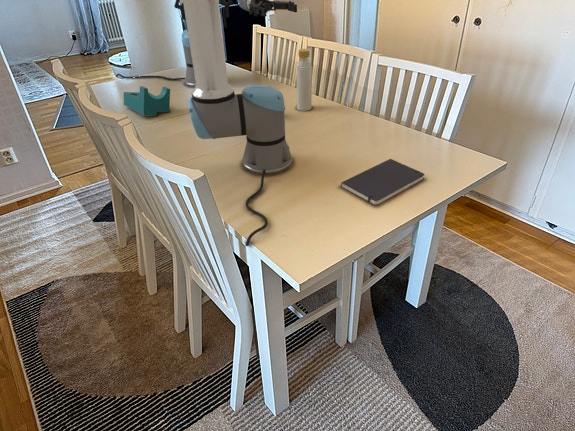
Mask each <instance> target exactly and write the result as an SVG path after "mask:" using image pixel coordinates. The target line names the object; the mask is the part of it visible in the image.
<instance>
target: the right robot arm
mask: <svg viewBox="0 0 575 431" xmlns="http://www.w3.org/2000/svg"><path fill="white" fill-rule="evenodd" d="M220 3H221V4H222V5H223V6H222V13H223V25H224V29H228V24H227V23H228V22H227V18H230V10H229V9H230V7H231V6H233V5H234V1H233V0H227V1H226V0H183V3H182V4H181V3H180V0H175V2H174V8H175V9H178V10H179V11H180V17H181V20H182V21H185V27H186V29H187V31H188V36H189V43H190V49H191V56H192V62H193V69H194V75H195V82H196V87H193V89H192V90H191V97H189V98H187V107H188V111H189V116H190V120H191V124H192V127H193V130H194V132H195V134H196V135H197V137H198V138H199V139H201V140H211V139H212V140H216V139H223V138H235V137H242V136H246V137H245V138H246V143H245V146H244V151H243V155H242V166H243V168H244V170H246V171H247V172H249V173H252V174H254V175H255V174H256V175H261V179H260V187H259V188H258V190H257V191H256V192H254V193H252V194H251V195H250V196H249V197H248V198H247V199H246V201H245V207H246V209H248V211H249V212H251V213H253V214H254V215H257V216H259V217H260V218H262V219H263V221H264V224H263V225H262V226H261V227H258V228H257V229H255V230H253V231H252V232H250V234H249V235H248V236H247V239H246V242H245V246H246V247H248V246H250V242H251V240H252V238H253V237H254V236H255V235H256V234H258V233H259V232H262V231H263V230H265V229H266V228H267V226H268V224H269V222H268V219H267V217H266V216H265V215H264V214H262V213H261V212H258V211H256V210H254V209H253V208H252V207H250V205H249V203H250V202H251V200H252V199H254V198H255V197H256V196H257V195H259V194H260V193H261V192H262V190H263V187H264V181H265V176H269V175H277V174H280V173H283V172H286V171H287V170H289V169H290V167H291V166H292V163H293V158H292V153H291V150H290V146H289V145H288V143H287V140H286V118H285V117H286V115H285V114H286V112H285V110H286V106H285V98H284V95H283V93H282V92H281V91H280V90H279V89H277V88H275V87H272V86H268V85H261V84H252V85H248V86H244V87H243V88H242V90H241V93H235V88H234V86H232V85H231V84H230V83H229V80H228V71H227V63H226V62H227V61H226V54H225V53H226V52H225V45H224V44H225V42H224V35H223V27H222V26H223V25H222V17H221V7H220ZM250 310H251V312H250V313H251V319H252V329H253V337H254V346H255V354H256V359H257V360H260V352H259V341H258V333H257V323H256V316H255V308H253V307H252V308H250Z"/></svg>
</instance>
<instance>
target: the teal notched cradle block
mask: <svg viewBox="0 0 575 431" xmlns="http://www.w3.org/2000/svg"><path fill="white" fill-rule="evenodd" d="M123 105H124V106H126V107H128V109H131V110H133V111H134V112H136V113H138V114H139V115H141V116H143V117H156V116H158V113H170V109H171V108H170V105H171V88H169V87H166V86H162V87H161V91H160V93H159V94H158V95H155V94H153V93H151V92H149V89H148V88H147V87H145V86H141V85H140V86H139V91H123Z"/></svg>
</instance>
